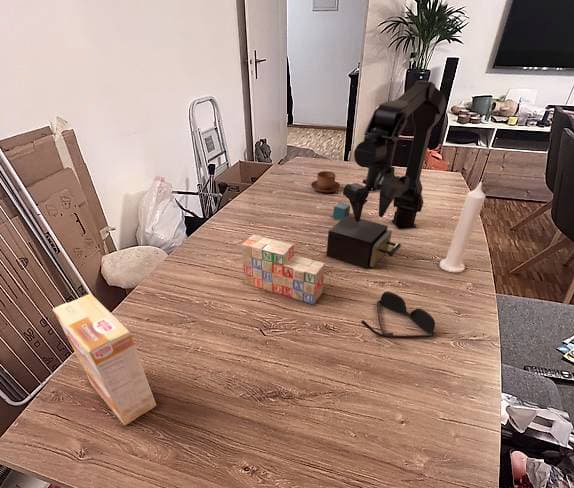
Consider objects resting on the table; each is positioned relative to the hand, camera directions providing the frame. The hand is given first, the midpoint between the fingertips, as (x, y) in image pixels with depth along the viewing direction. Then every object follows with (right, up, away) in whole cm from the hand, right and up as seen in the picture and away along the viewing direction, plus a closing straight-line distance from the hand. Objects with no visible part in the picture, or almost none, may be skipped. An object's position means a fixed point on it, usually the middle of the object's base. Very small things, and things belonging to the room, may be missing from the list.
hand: (369, 219), depth 108 cm
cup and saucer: (-8, +28, +49) cm, 57 cm away
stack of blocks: (-25, -21, -4) cm, 33 cm away
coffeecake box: (-57, -45, -32) cm, 79 cm away
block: (-4, +10, +29) cm, 31 cm away
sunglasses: (+1, -32, -17) cm, 36 cm away
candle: (+26, -13, +5) cm, 29 cm away
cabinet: (-2, -8, +10) cm, 13 cm away
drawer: (+1, -9, +8) cm, 12 cm away
